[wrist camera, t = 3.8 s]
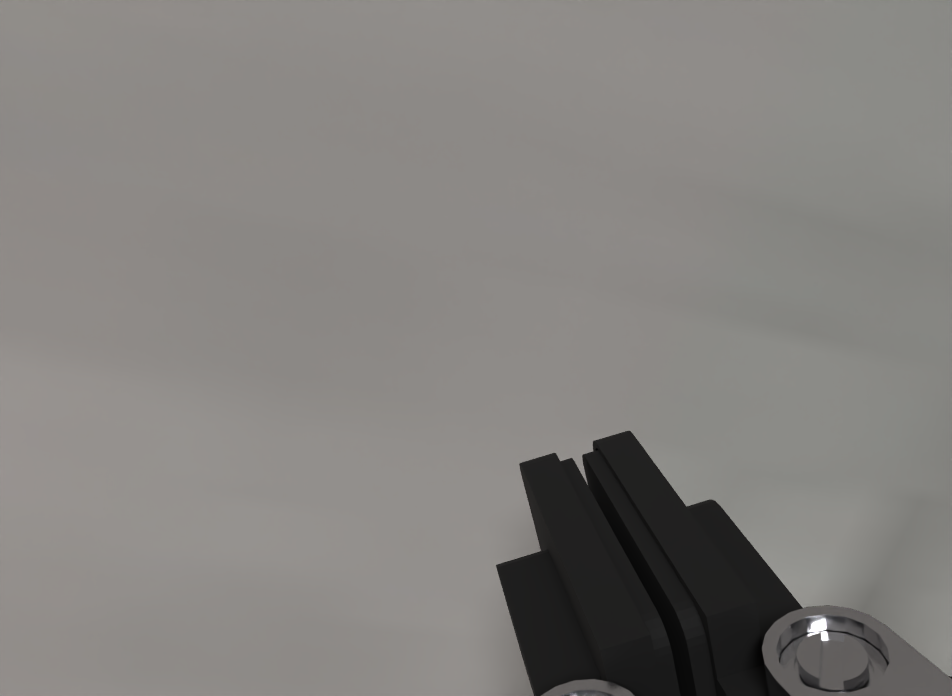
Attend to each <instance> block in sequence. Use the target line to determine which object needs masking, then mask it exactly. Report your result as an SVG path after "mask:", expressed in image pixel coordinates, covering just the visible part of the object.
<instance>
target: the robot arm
mask: <svg viewBox="0 0 952 696" xmlns="http://www.w3.org/2000/svg"><path fill="white" fill-rule="evenodd" d="M593 450H594V451H593V452H590V453H587V454H583V456H582V458H583V465H584V469H585V474H586V478H587V482H588V485H587V483H586V482H585V480H584V478H583V476H582V474H581V473H580V471H579V469H578V467H577V465H576V464H575V462H574V460H573V459H572V458H570V459H567V460H563V461H560V460H559V458H558V456H557V455H556V453H552V454H549V455H546V456H542V457H539V458H536V459H532V460H529V461H526V462H522V463H520V470H521V475H522V479H523V482H524V486H525V490H526V494H527V498H528V502H529V505H530V509H531V513H532V517H533V521H534V525H535V529H536V532H537V536H538V540H539V544H540V548H541V551H540V552H537V553H534V554H531V555H527V556H524V557H521V558H518V559H514V560H511V561H508V562H504V563H501V564H498V565H496V567H497V571H498V574H499V578H500V581H501V585H502V588H503V592H504V595H505V599H506V602H507V606H508V609H509V613H510V616H511V619H512V623H513V626H514V630H515V633H516V637H517V640H518V643H519V647H520V650H521V654H522V657H523V660H524V664H525V667H526V670H527V674H528V677H529V680H530V684H531V687H532V690H533V694H534V696H952V677H950V676H947V675H946V674H945V673H944V672H943V671H941V670H940V669H939V668H938V667H936V666H935V665H934V664H933V663H932V662H930V661H929V660H928V659H927V658H925V657H924V656H923V655H922V654H921V653H919V652H918V651H917V650H916V649H915V648H913V647H912V646H911V645H910V644H908V643H907V642H906V641H905V640H904V639H902V638H901V637H900V636H899V635H897V634H896V633H895V632H894V631H893V630H891V629H890V628H889V627H888V626H886V625H885V624H883V623H882V622H880V621H878V620H877V619H875V618H874V617H872V616H870V615H868V614H865V613H862V612H859V611H857V610H854V609H851V608H845V607H838V606H830V605H825V606H812V607H805V608H802V607H801V605H800V604H799V603H798V602H797V600H796V599H795V598H794V597H793V596H792V594H791V593H790V592H789V591H788V589H787V588H786V587H785V586H784V584H783V583H782V582H781V581H780V579H779V578H778V577H777V576H776V574H775V573H774V572H773V571H772V570H771V568H770V567H769V566H768V565H767V563H766V562H765V561H764V560H763V558H762V557H761V556H760V555H759V553H758V552H757V551H756V550H755V548H754V547H753V546H752V545H751V543H750V542H749V541H748V540H747V539H746V537H745V536H744V535H743V534H742V532H741V531H740V530H739V529H738V527H737V526H736V525H735V524H734V522H733V521H732V520H731V519H730V517H729V516H728V515H727V514H726V513H725V511H724V510H723V509H722V508H721V506H720V505H719V504H718V503H717V502H716V501H714V500H707V501H704V502H700V503H697V504H694V505H691V506H687V507H686V506H685V504H684V503H683V501H682V500H681V499H680V497H679V496H678V495H677V493H676V492H675V491H674V489H673V488H672V487H671V485H670V484H669V482H668V481H667V480H666V478H665V477H664V476H663V474H662V473H661V472H660V470H659V469H658V467H657V466H656V465H655V463H654V462H653V461H652V459H651V458H650V457H649V455H648V454H647V453H646V451H645V450H644V448H643V447H642V446H641V444H640V443H639V442H638V440H637V439H636V438H635V436H634V435H633V434H632V433H631V431H626V432H622V433H619V434H616V435H612V436H609V437H606V438H602V439H599V440H596V441H593Z"/></svg>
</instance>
